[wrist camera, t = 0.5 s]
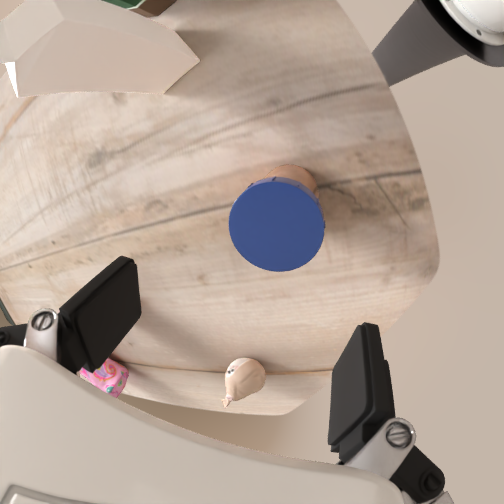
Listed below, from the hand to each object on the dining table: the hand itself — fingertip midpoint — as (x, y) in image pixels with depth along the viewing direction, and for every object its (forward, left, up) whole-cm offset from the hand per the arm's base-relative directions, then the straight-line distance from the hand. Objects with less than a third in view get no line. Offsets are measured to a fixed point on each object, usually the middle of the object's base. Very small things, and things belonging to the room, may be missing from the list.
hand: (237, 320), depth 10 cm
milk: (-13, -16, -20) cm, 29 cm away
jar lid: (0, 0, -10) cm, 10 cm away
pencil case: (+43, -35, -20) cm, 59 cm away
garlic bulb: (+28, 0, -20) cm, 35 cm away
